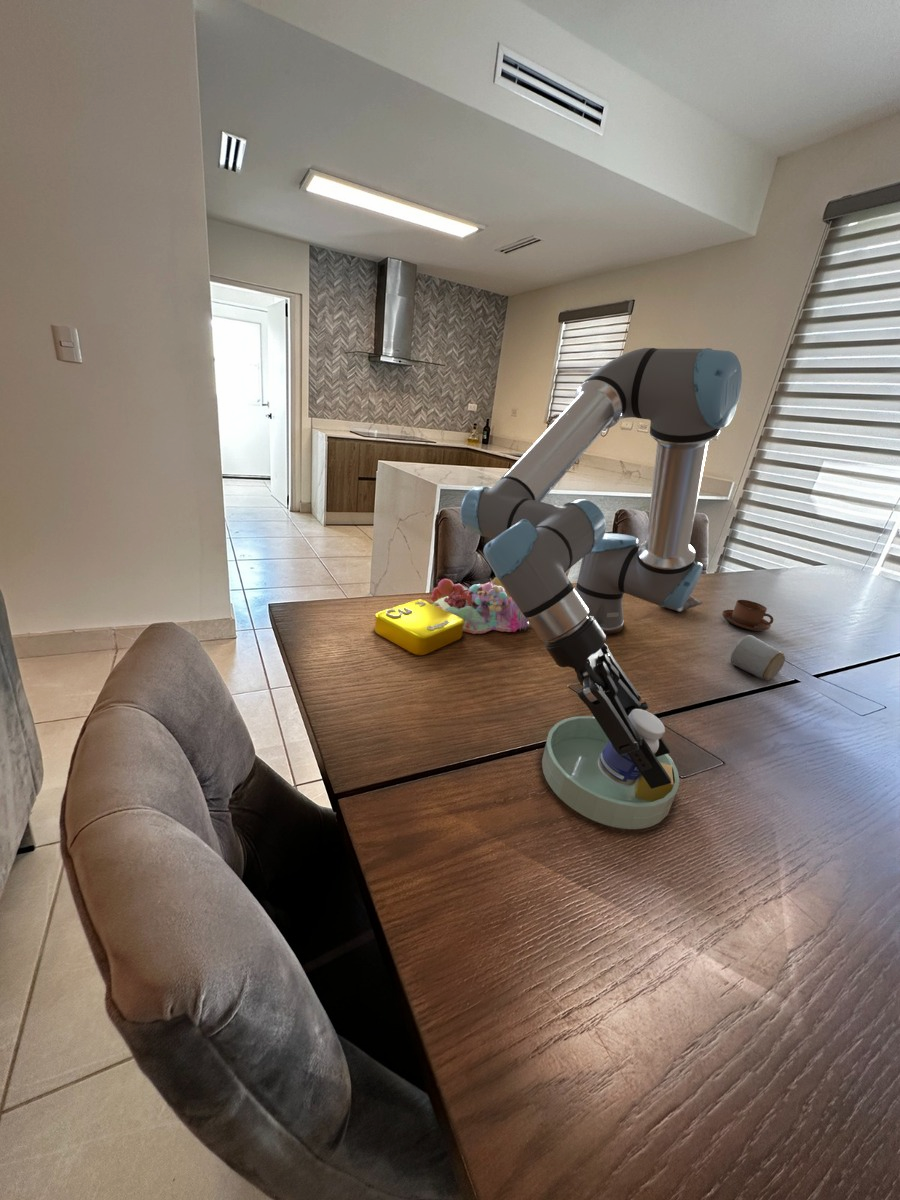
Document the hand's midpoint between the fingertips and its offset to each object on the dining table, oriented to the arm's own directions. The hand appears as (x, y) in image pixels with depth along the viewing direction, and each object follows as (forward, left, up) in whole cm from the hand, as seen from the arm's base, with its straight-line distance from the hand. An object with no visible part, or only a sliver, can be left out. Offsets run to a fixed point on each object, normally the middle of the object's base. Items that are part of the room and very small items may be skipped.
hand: (660, 768), depth 64 cm
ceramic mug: (-6, +59, -6) cm, 60 cm away
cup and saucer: (-18, +87, -6) cm, 89 cm away
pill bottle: (-5, -2, -3) cm, 6 cm away
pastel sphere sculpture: (-57, +22, -6) cm, 61 cm away
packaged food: (-34, +79, -6) cm, 86 cm away
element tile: (-56, +1, -6) cm, 56 cm away
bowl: (-6, -2, -6) cm, 9 cm away
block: (-1, +1, -5) cm, 5 cm away
